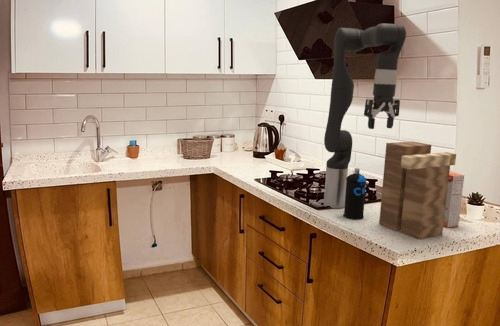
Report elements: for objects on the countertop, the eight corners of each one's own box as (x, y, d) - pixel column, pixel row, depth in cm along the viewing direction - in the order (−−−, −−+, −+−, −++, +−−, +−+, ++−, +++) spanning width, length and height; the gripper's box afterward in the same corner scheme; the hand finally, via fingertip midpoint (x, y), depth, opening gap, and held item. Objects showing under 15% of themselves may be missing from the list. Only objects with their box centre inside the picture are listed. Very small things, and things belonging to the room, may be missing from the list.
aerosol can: (339, 215, 194) (342, 167, 190) (351, 212, 199) (355, 165, 195) (355, 220, 188) (359, 171, 184) (367, 217, 193) (371, 169, 189)
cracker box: (421, 217, 195) (426, 167, 191) (433, 216, 198) (438, 167, 194) (446, 228, 183) (452, 175, 179) (458, 226, 185) (465, 174, 181)
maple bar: (409, 169, 161) (410, 157, 160) (400, 167, 164) (401, 155, 163) (455, 165, 172) (456, 154, 171) (445, 162, 175) (447, 152, 174)
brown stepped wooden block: (417, 239, 169) (426, 151, 162) (379, 224, 185) (386, 143, 179) (443, 234, 175) (454, 149, 169) (404, 219, 192) (412, 141, 185)
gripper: (392, 82, 173) (387, 126, 176) (362, 81, 166) (357, 127, 170) (407, 83, 166) (402, 129, 170) (376, 83, 160) (372, 130, 163)
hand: (380, 128), depth 170 cm, fingers open, 8 cm apart
